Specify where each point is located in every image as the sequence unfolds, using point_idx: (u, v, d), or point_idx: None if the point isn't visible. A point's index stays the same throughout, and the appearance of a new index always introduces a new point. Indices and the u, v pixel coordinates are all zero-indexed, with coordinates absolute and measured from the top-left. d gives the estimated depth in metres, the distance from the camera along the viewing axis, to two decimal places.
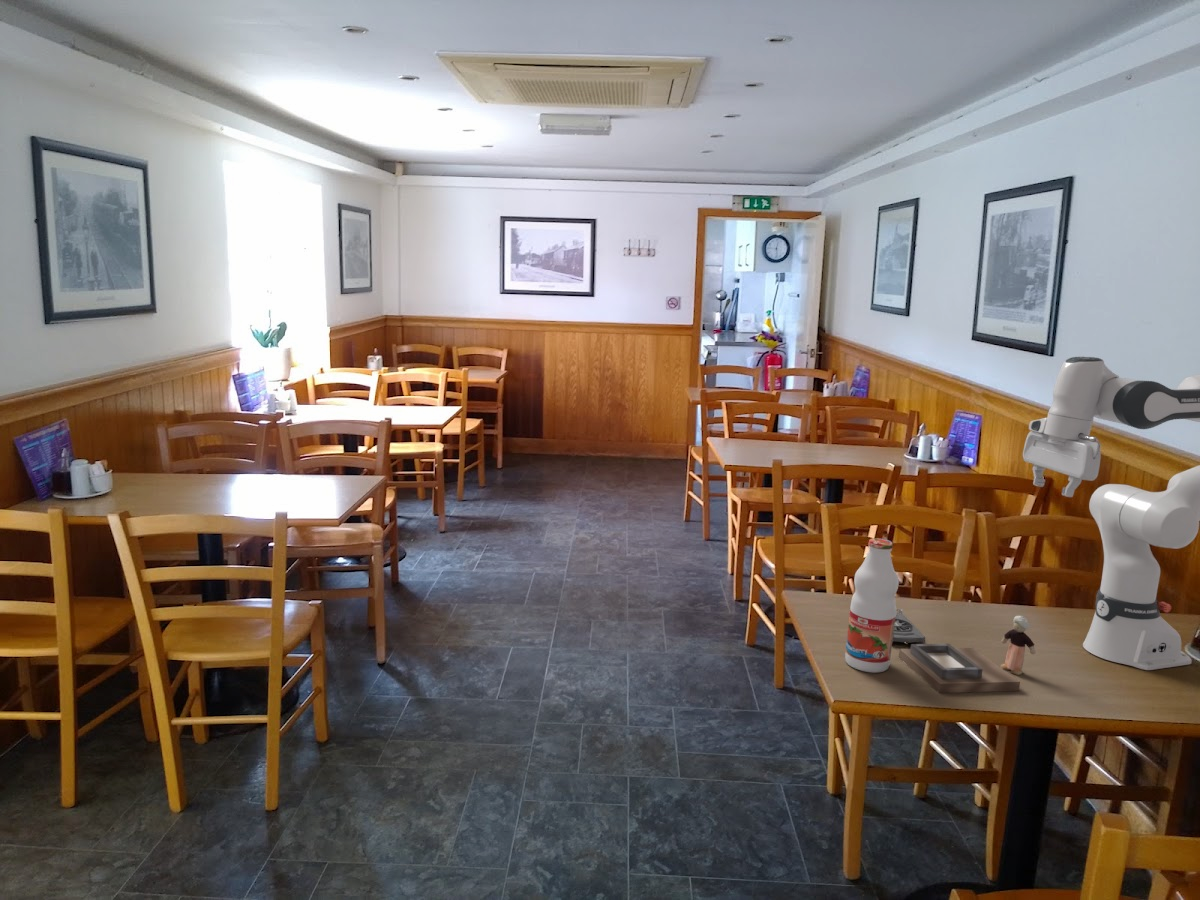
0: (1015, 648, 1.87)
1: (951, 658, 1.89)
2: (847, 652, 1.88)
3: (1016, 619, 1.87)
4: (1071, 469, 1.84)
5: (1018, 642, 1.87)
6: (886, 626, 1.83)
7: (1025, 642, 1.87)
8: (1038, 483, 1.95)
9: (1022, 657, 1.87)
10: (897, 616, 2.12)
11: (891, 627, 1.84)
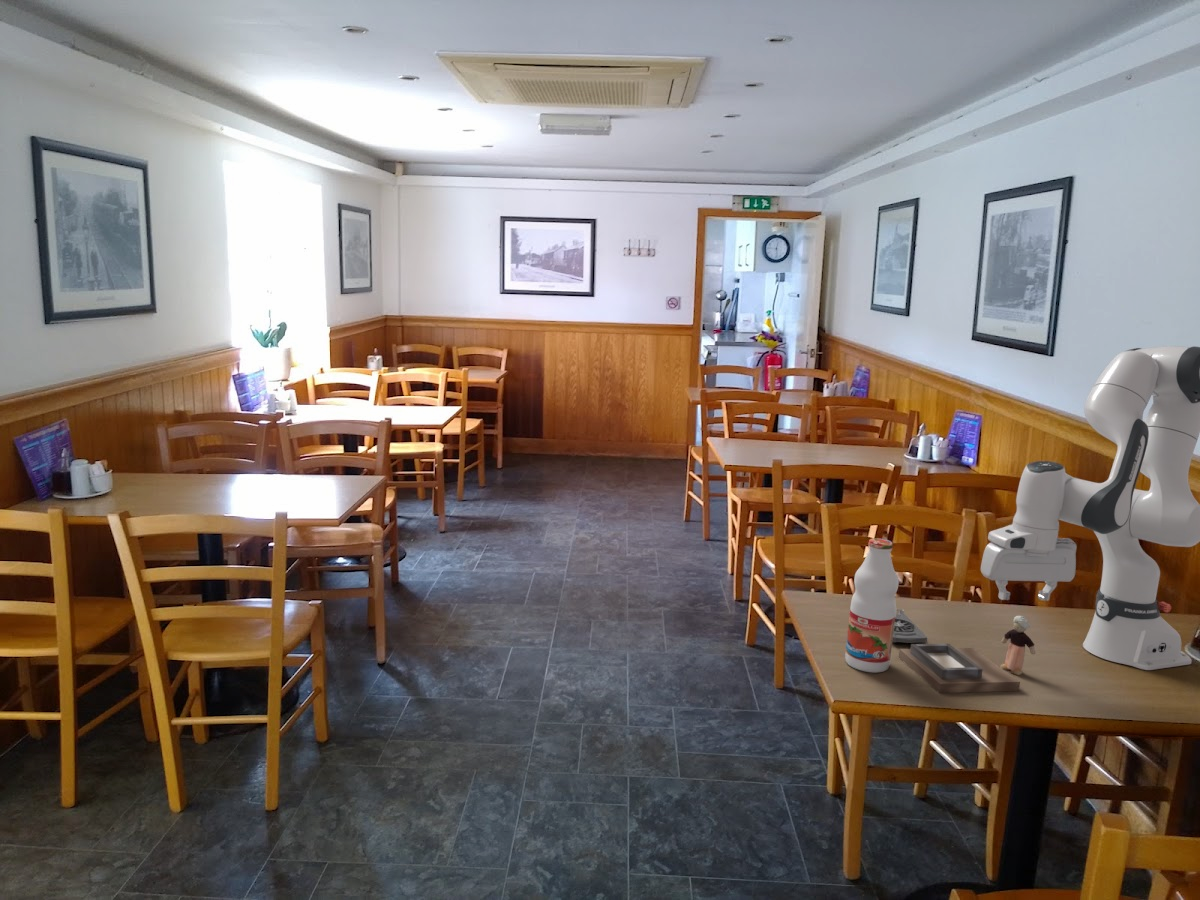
0: (1015, 648, 1.87)
1: (951, 658, 1.89)
2: (847, 652, 1.88)
3: (1016, 619, 1.87)
4: (1060, 575, 1.84)
5: (1018, 642, 1.87)
6: (886, 626, 1.83)
7: (1025, 642, 1.87)
8: None
9: (1022, 657, 1.87)
10: (899, 616, 2.12)
11: (891, 627, 1.84)
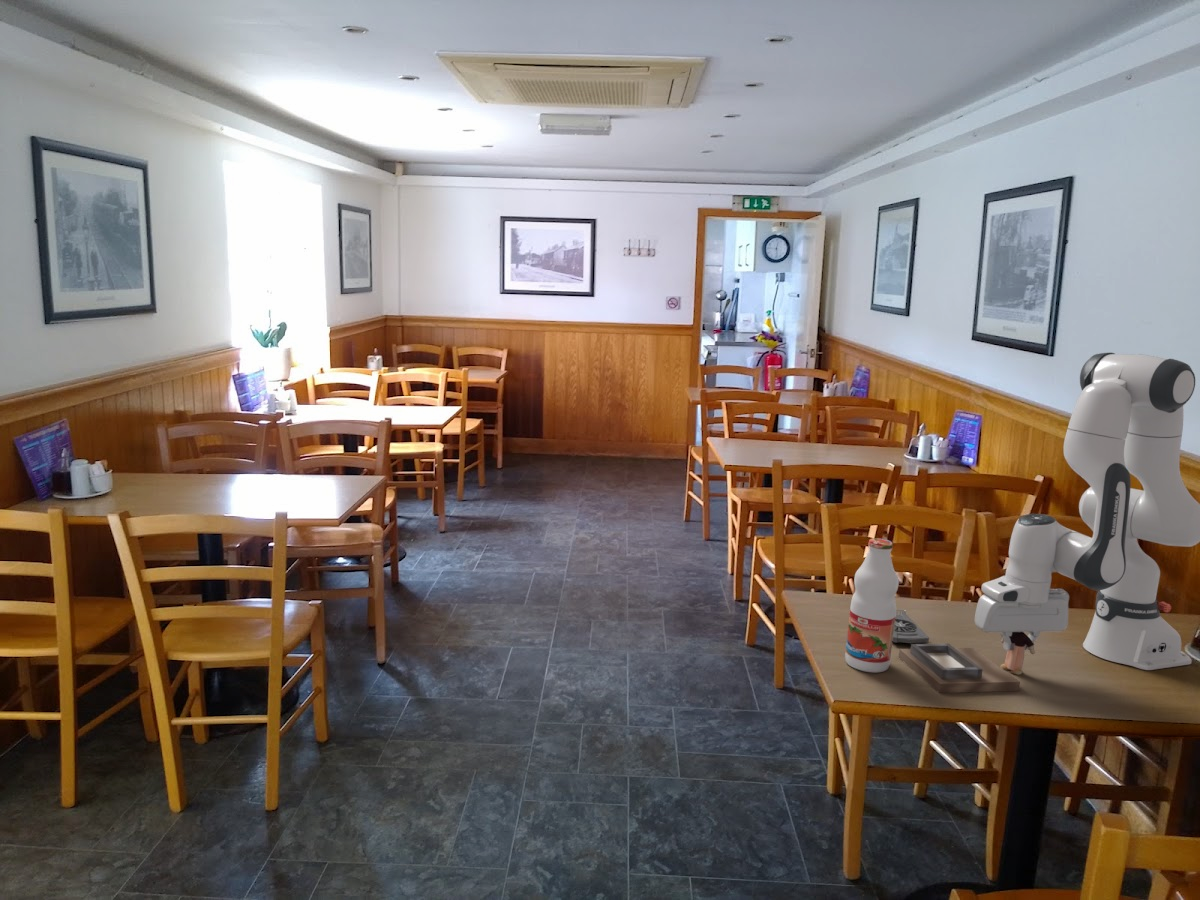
0: (1015, 648, 1.87)
1: (951, 658, 1.89)
2: (847, 652, 1.88)
3: None
4: (1053, 626, 1.86)
5: (1018, 642, 1.87)
6: (886, 626, 1.83)
7: (1025, 642, 1.87)
8: None
9: (1022, 657, 1.87)
10: (901, 616, 2.12)
11: (891, 627, 1.84)
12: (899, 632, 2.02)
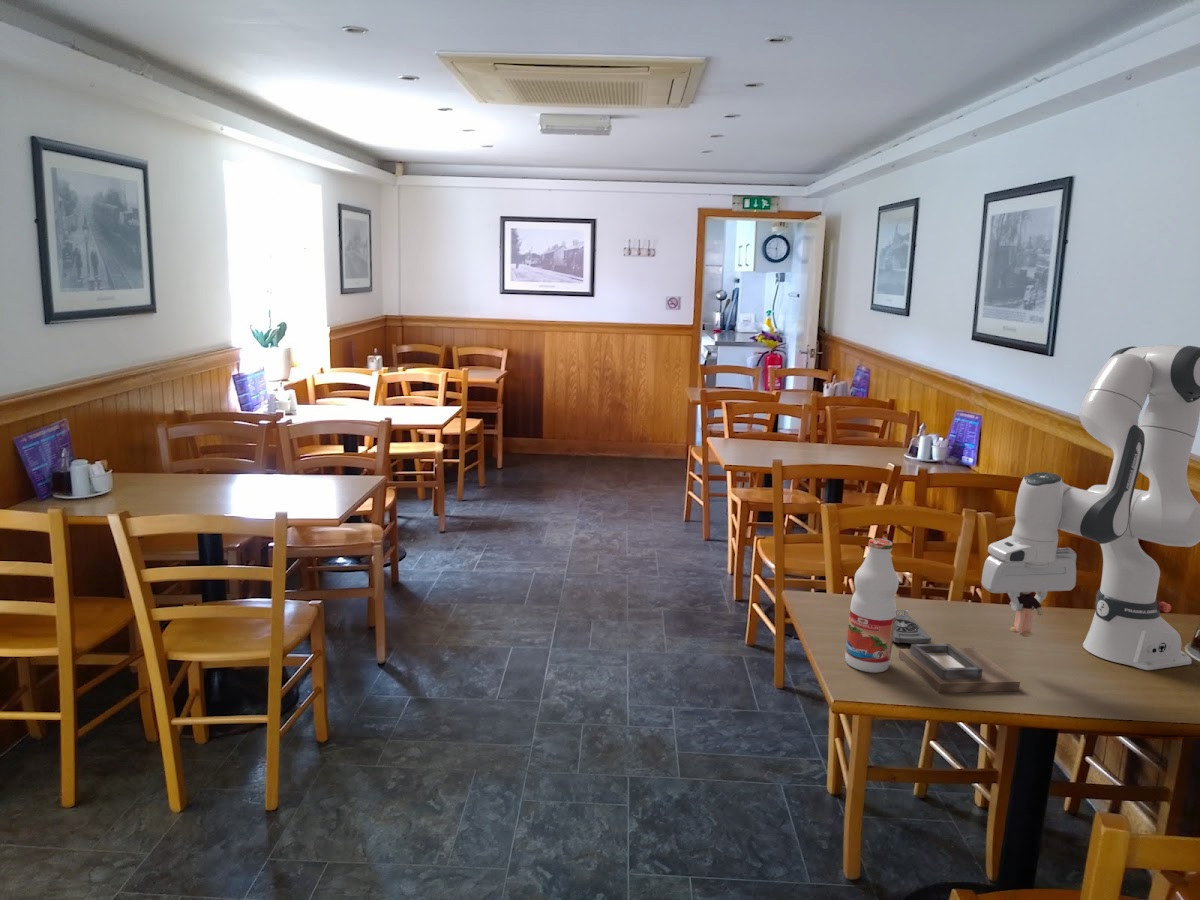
0: (1022, 610, 1.86)
1: (951, 658, 1.89)
2: (847, 652, 1.88)
3: None
4: (1060, 585, 1.85)
5: (1025, 604, 1.85)
6: (886, 626, 1.83)
7: (1032, 604, 1.85)
8: None
9: (1030, 619, 1.86)
10: (903, 617, 2.12)
11: (891, 627, 1.84)
12: (901, 632, 2.02)
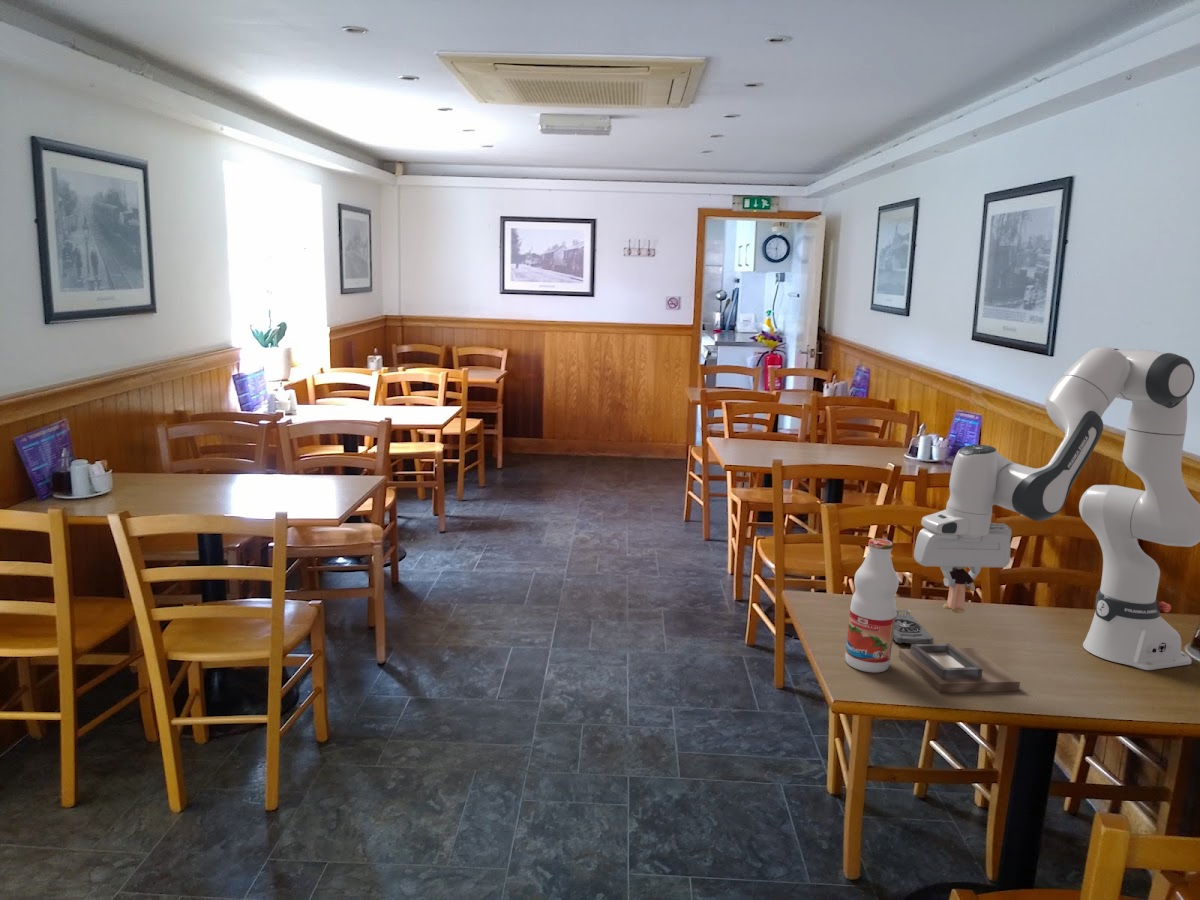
0: (955, 586, 1.81)
1: (951, 658, 1.89)
2: (847, 652, 1.88)
3: None
4: (994, 561, 1.80)
5: (958, 579, 1.81)
6: (886, 626, 1.83)
7: (965, 579, 1.80)
8: None
9: (963, 595, 1.81)
10: (905, 617, 2.12)
11: (891, 627, 1.84)
12: (903, 632, 2.02)
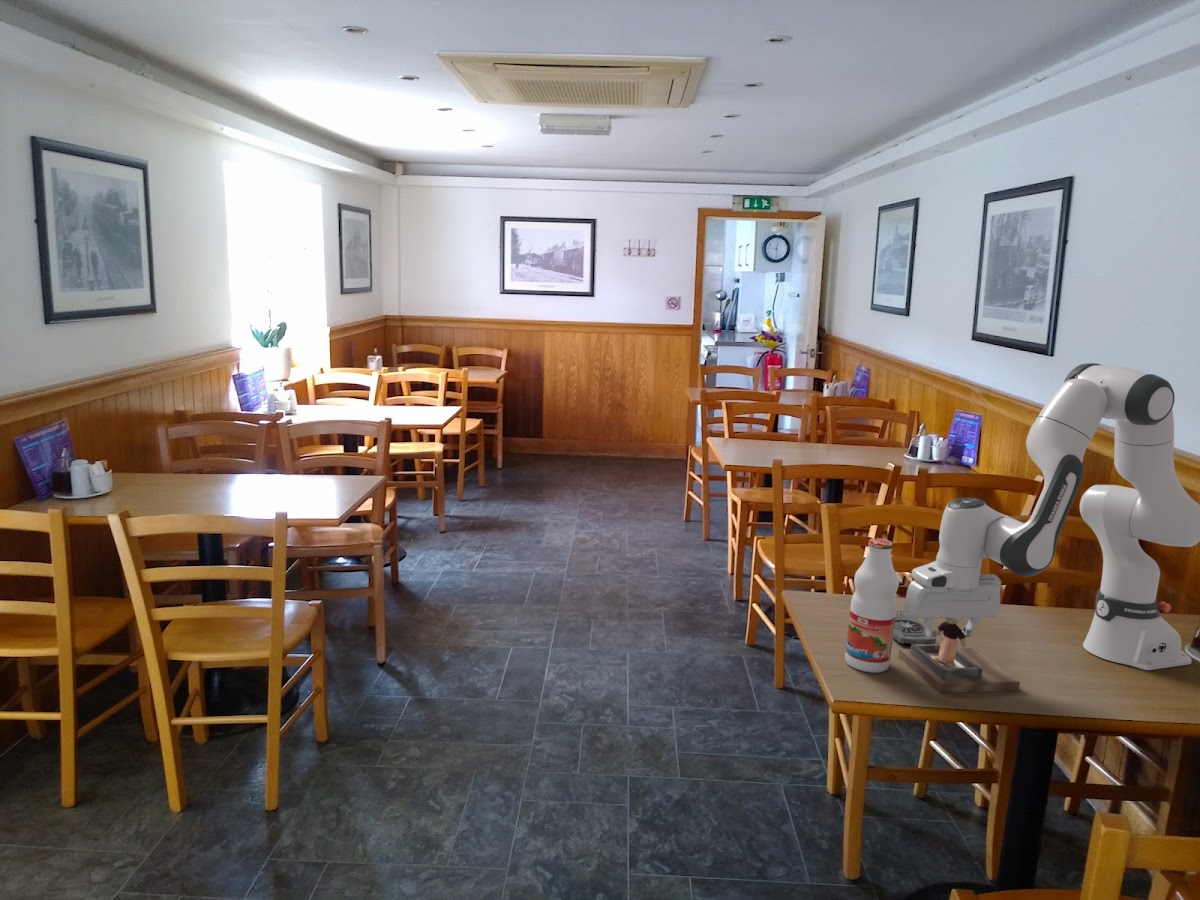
0: (947, 640, 1.84)
1: None
2: (847, 652, 1.88)
3: None
4: (984, 612, 1.83)
5: (950, 634, 1.83)
6: (886, 626, 1.83)
7: (957, 634, 1.83)
8: None
9: (954, 649, 1.84)
10: (908, 617, 2.12)
11: (891, 627, 1.84)
12: (906, 633, 2.02)
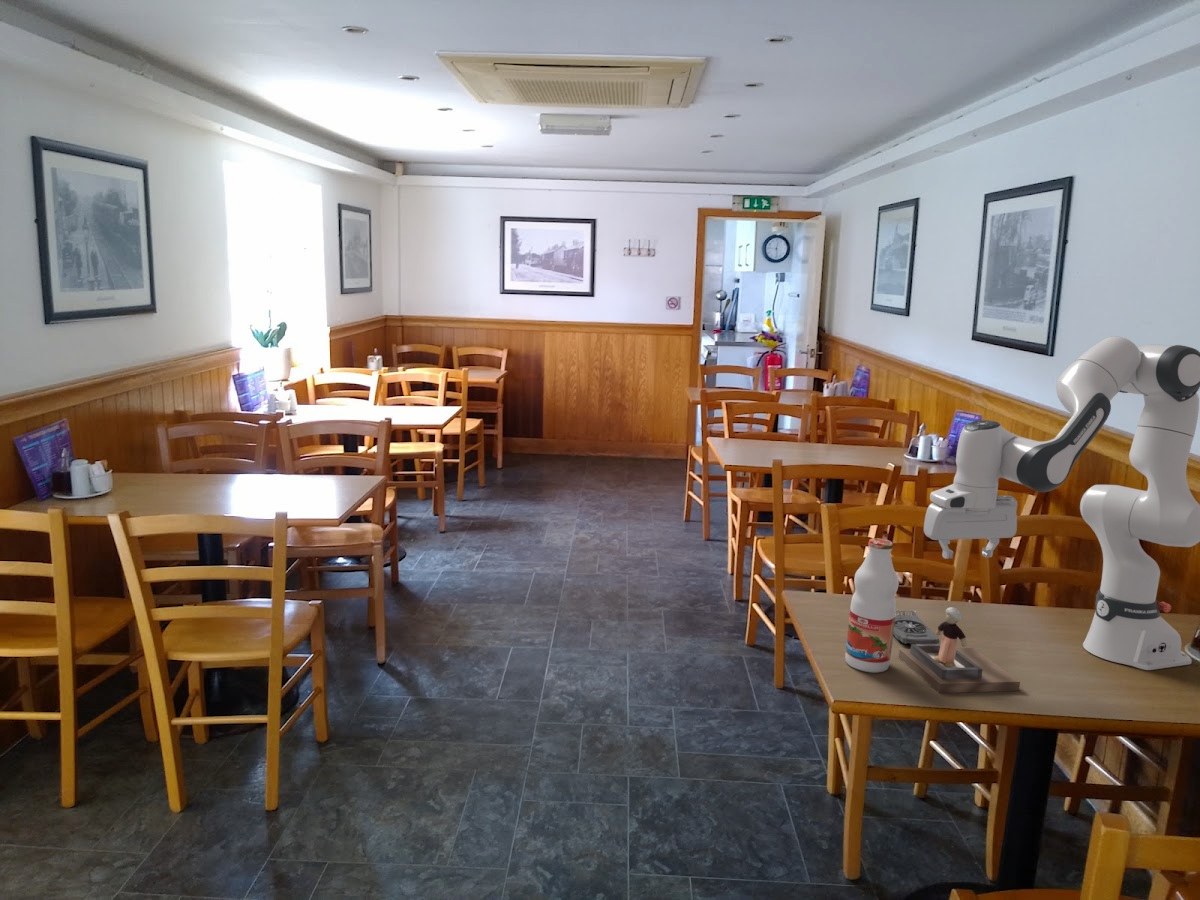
0: (947, 640, 1.84)
1: None
2: (847, 652, 1.88)
3: (948, 610, 1.83)
4: (1001, 532, 1.87)
5: (950, 634, 1.83)
6: (886, 626, 1.83)
7: (957, 634, 1.83)
8: None
9: (954, 649, 1.84)
10: (911, 617, 2.12)
11: (891, 627, 1.84)
12: (909, 633, 2.02)
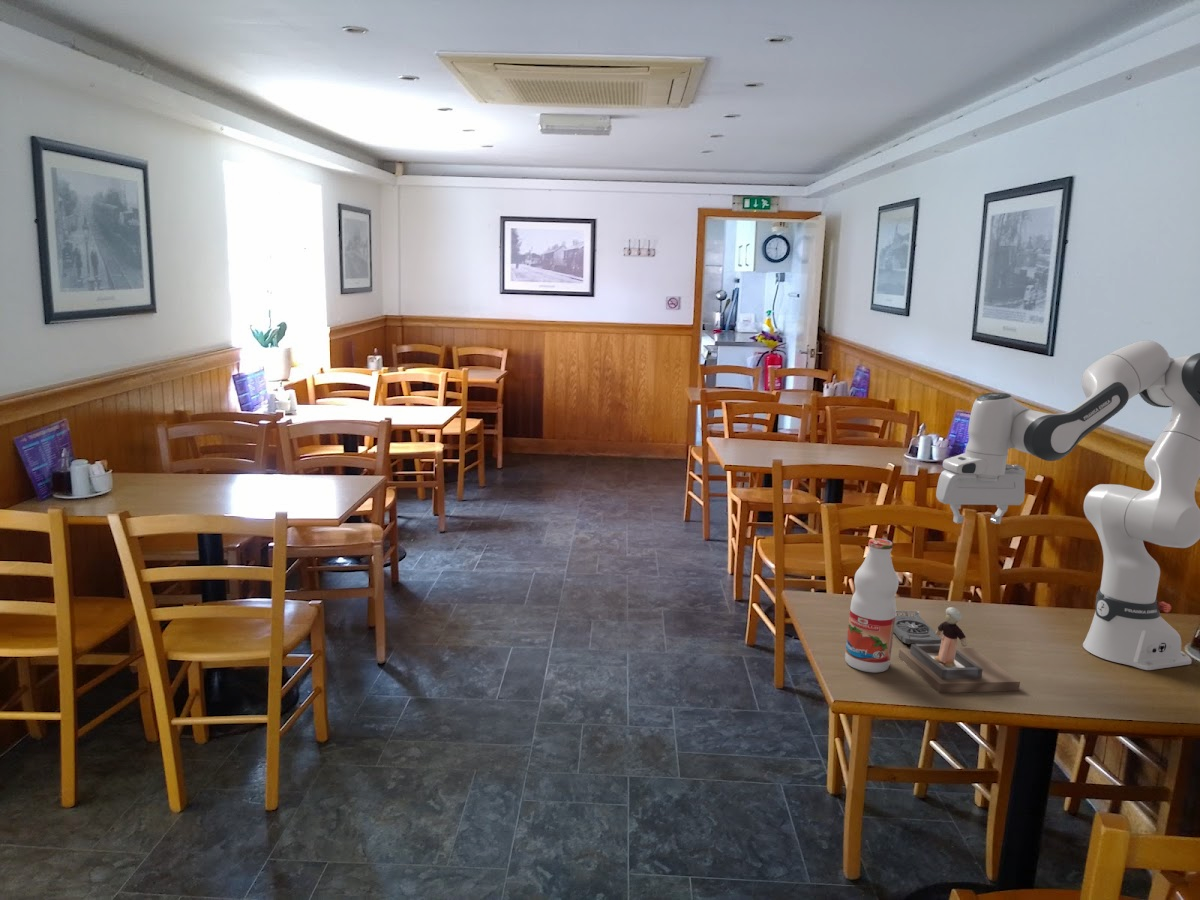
0: (947, 640, 1.84)
1: None
2: (847, 652, 1.88)
3: (948, 610, 1.83)
4: (1010, 499, 1.97)
5: (950, 634, 1.83)
6: (886, 626, 1.83)
7: (957, 634, 1.83)
8: None
9: (954, 649, 1.84)
10: (913, 618, 2.12)
11: (891, 627, 1.84)
12: (911, 633, 2.02)
